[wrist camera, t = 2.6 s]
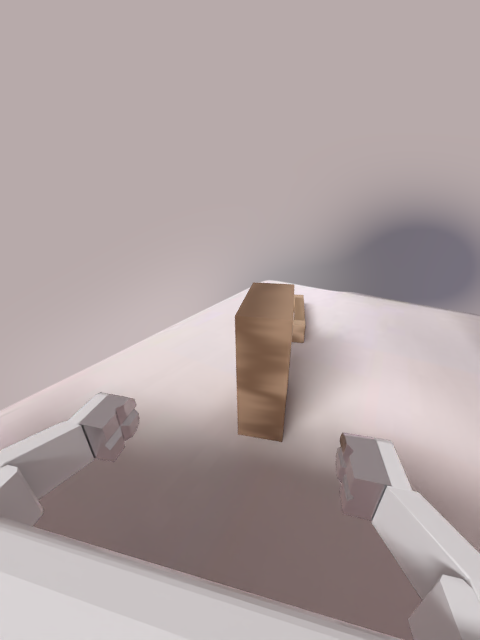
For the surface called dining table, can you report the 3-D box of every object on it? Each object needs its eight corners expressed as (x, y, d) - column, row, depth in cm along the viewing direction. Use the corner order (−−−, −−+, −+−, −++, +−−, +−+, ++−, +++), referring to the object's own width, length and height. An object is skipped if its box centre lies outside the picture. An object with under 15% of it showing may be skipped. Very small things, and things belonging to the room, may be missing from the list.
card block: (286, 382, 28) (294, 284, 23) (282, 442, 21) (293, 320, 16) (251, 378, 29) (252, 282, 24) (237, 434, 22) (234, 315, 17)
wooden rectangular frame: (301, 309, 48) (303, 295, 46) (303, 342, 36) (305, 325, 35) (259, 306, 49) (259, 292, 48) (248, 337, 38) (247, 320, 36)
